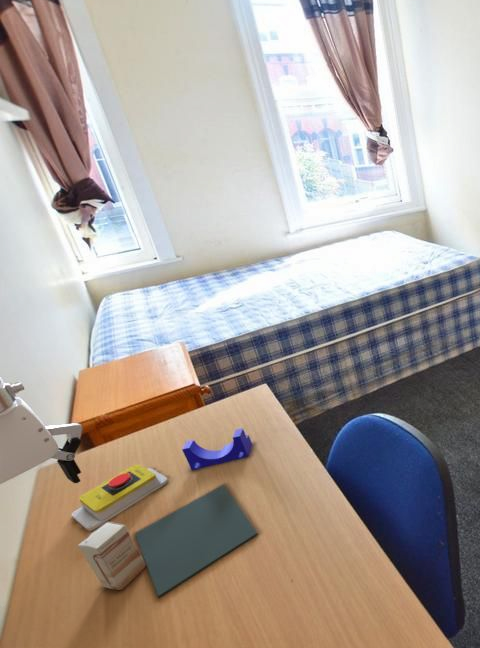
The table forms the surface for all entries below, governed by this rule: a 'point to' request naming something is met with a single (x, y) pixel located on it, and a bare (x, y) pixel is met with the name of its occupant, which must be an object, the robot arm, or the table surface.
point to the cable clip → (230, 452)
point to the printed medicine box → (112, 555)
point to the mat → (193, 538)
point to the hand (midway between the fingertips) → (35, 501)
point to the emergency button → (117, 495)
